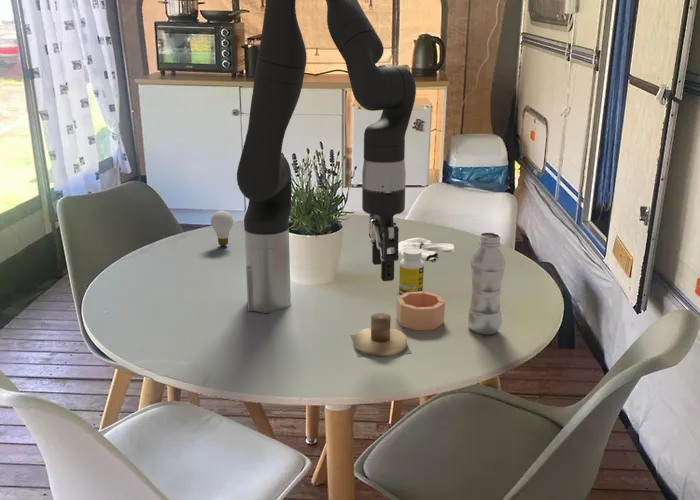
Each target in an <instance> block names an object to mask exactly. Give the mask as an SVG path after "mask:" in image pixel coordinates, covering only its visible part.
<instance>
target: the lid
mask: <svg viewBox="0 0 700 500" xmlns="http://www.w3.org/2000/svg"><path fill="white" fill-rule="evenodd" d="M370 316H371V317H370V327H366V328H363V329H360V330H359V331H357V332H356V333H355V334H354V335H355V336H354V344H353V347H354V346H355V347H354V349H355V348H356V349H357V350H358V351H360V352H362V353H364V354H367V355H372V356H371V357H391V356H392V357H393V356H396V354H398V355H400V354H399V353H401V352H403V351H404V350H405V349H406V347H407V345H408V337H407V335H406V334H405V333H404V332H403V331H400V330H398V329H395V328H391V323H392V322H391V320H392V319H391V314H388V313H385V312H376V313H372V314H371V315H370Z"/></svg>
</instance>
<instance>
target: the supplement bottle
mask: <svg viewBox="0 0 700 500" xmlns="http://www.w3.org/2000/svg"><path fill="white" fill-rule="evenodd" d="M402 257H403V258H402V259H401V260H400V262H399V278H398V279H399V280H398V281H399V282H398V283H399V284H398V291H399V293H400V294H401V295H403V294H404V293H406V292H420V291H423V290H424V274H425V273H424V271H425V270H424V269H425V262H424V260H423V259H420V258H421V251H420V250H418V249H406V250H404V254H403V256H402Z"/></svg>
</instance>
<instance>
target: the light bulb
mask: <svg viewBox="0 0 700 500" xmlns="http://www.w3.org/2000/svg"><path fill="white" fill-rule="evenodd" d="M233 225H234V218H233V216H232V215H231V214H230V212H228V211H226V210H218V211H216V212H214V214H212V216H211V219H210V226H211V228H212V229H213V230H214V232H215V234H216V237H217V243H218V245H219V246H220V247H222V248H223V247H226V246H227V245H228V244H229V235H230V231H231V229H232V228H233Z"/></svg>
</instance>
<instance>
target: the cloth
mask: <svg viewBox="0 0 700 500" xmlns="http://www.w3.org/2000/svg"><path fill="white" fill-rule="evenodd" d="M406 249H418V250H420V251H421V258H420V259H421V260H422V261H425V262H426V261H427V260H428V261H430V262H432V263H434V264H435V260H436V259H438V256H439V253H438V252H441V253H442V252H445V253H455V252H456V251H455V246H454V244H453V243H446V242H445V243H444V242H437V243H436V242H435V243H432V241H431V240H428V239H426V238H422V237H411V238H409V239H405V240H402V241H398V254H400V255H401V256H402V257H403V254H404V250H406Z"/></svg>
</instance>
